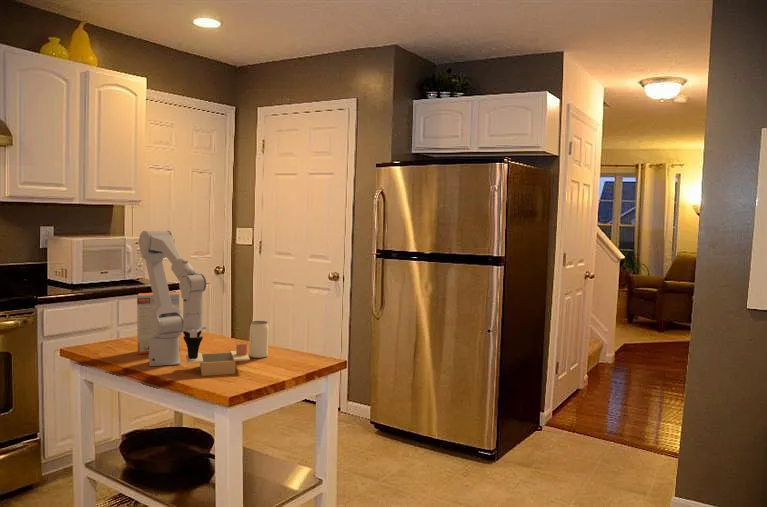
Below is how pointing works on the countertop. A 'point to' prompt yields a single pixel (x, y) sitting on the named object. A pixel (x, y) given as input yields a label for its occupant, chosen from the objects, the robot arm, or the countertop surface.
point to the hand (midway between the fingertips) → (192, 355)
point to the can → (258, 339)
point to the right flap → (240, 352)
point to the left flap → (198, 360)
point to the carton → (217, 364)
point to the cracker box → (148, 318)
